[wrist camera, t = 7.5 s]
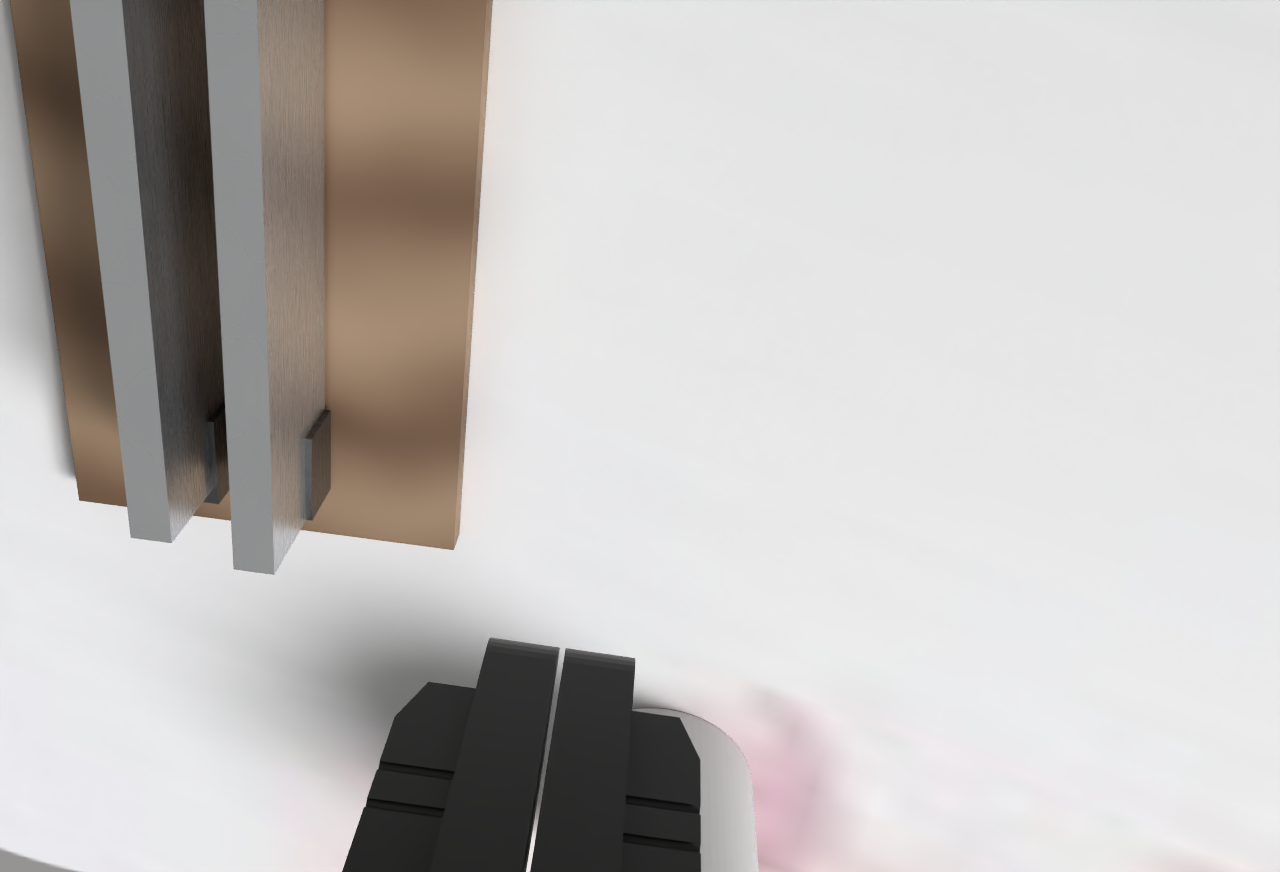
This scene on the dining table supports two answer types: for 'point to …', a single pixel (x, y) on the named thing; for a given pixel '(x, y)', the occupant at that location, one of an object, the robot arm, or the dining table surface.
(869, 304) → the dining table surface
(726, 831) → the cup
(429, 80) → the walnut board
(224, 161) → the tongs swing arm
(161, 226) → the arm
